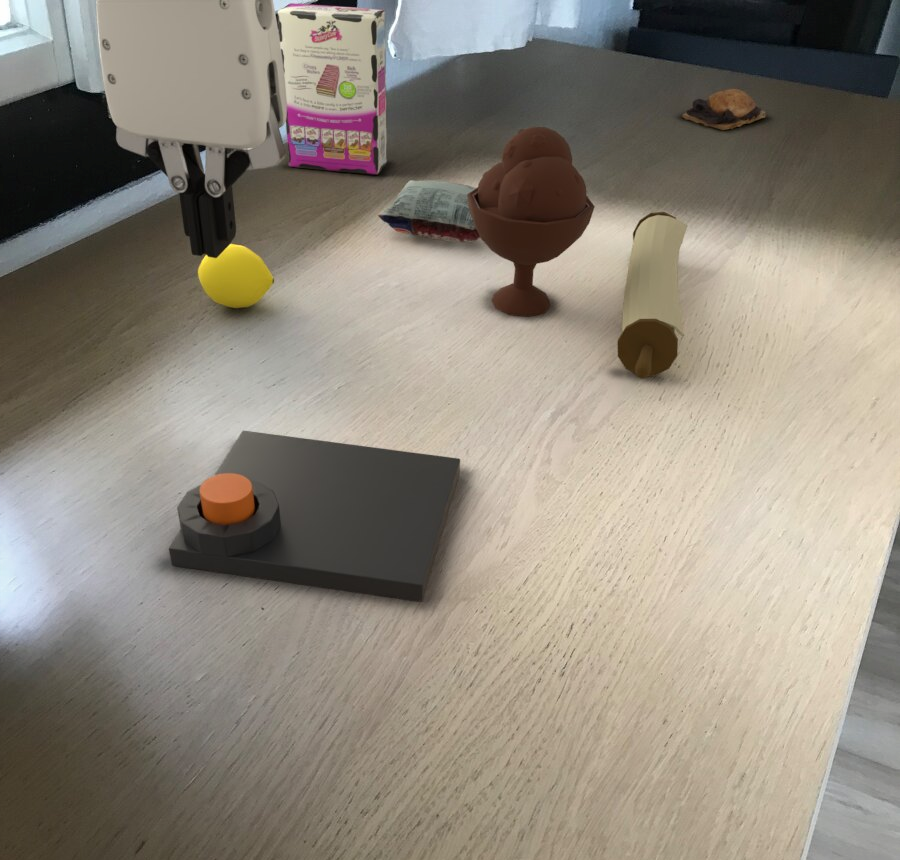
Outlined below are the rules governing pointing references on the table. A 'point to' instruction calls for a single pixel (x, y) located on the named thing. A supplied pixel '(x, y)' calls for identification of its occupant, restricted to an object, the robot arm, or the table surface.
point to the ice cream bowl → (530, 212)
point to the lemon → (235, 277)
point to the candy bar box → (334, 87)
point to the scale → (326, 516)
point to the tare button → (227, 498)
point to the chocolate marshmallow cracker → (725, 110)
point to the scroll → (652, 297)
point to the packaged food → (433, 211)
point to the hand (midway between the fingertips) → (212, 248)
